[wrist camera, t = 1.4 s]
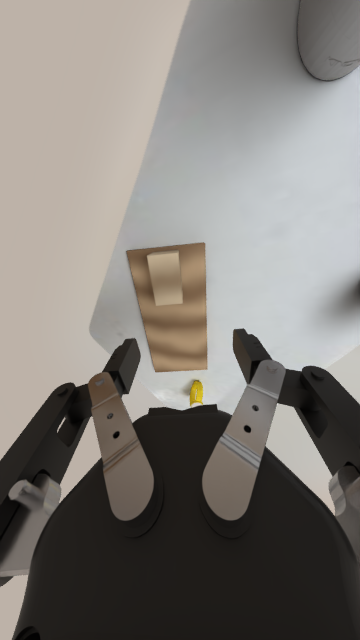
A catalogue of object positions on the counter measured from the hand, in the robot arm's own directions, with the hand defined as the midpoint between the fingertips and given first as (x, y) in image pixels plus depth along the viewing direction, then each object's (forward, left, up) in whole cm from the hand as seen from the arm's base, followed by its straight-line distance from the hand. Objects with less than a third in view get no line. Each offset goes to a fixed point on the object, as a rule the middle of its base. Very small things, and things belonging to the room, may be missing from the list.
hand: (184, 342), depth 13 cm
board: (+7, -2, -17) cm, 19 cm away
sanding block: (-2, -2, -16) cm, 16 cm away
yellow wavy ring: (+27, +1, -18) cm, 32 cm away
